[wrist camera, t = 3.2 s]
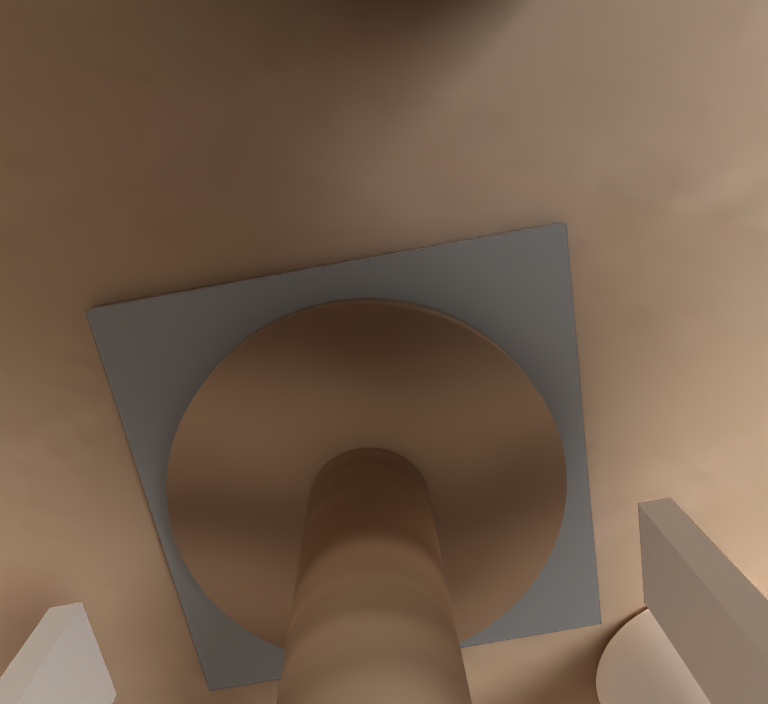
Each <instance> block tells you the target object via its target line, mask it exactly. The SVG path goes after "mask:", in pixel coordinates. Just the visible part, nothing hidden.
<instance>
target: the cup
mask: <svg viewBox="0 0 768 704" xmlns="http://www.w3.org/2000/svg"><path fill="white" fill-rule="evenodd" d="M596 688H597V694H598V698H599V702H600V704H711V703H710V701H709V700H708V698H707V697H706V695H705V694H704V692H703V691H702V689H701V688H700V686H699V685H698V683H697V682H696V680H695V679H694V677H693V676H692V674H691V673H690V671H689V670H688V668H687V666H686V665H685V663H684V662H683V660H682V659H681V657H680V656H679V654H678V653H677V651H676V650H675V648H674V647H673V645H672V644H671V642H670V641H669V639H668V638H667V636H666V635H665V633H664V631H663V630H662V628H661V627H660V625H659V624H658V622H657V621H656V619H655V618H654V616H653V615H652V613H651V612H650V610H649V609H647V610H645V611H643V612H641V613H640V614H638V615H637V616H635V617H634V618H632V619H631V620H630V621H629V622H627V623H626V624H625V625H624V626H623V627H622V628H621V629H620V630H619V631H618V632H617V633H616V634H615V635H614V636H613V638H612V639H611V640H610V642H609V643H608V645H607V646H606V648H605V650H604V652H603V654H602V656H601V659H600V661H599V665H598V669H597V675H596Z"/></svg>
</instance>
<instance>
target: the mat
mask: <svg viewBox="0 0 768 704" xmlns="http://www.w3.org/2000/svg"><path fill="white" fill-rule="evenodd" d="M354 298H385V299H392V300H399V301H406V302H412V303H416V304H419V305H423V306H427V307H430V308H434V309H437V310H440V311H442V312H444V313H447V314H449V315H451V316H454V317H456V318H458V319H461V320H462V321H464V322H466V323H467V324H469V325H471V326H472V327H474V328H476V329H477V330H479V331H481V332H482V333H484V334H485V335H486V336H488V337H489V338H490V339H491V340H493V341H494V342H495V343H496V344H497V345H499V346H500V347H501V348H502V349H503V350H504V351H505V352H506V353H507V354H508V355H509V356H510V357H511V358H512V359H513V360H514V361H515V362H516V363H517V364H518V366H519V367H520V368H521V369H522V370H523V372H524V373H525V374H526V376H527V377H528V378H529V379H530V381H531V382H532V384H533V385H534V387H535V388H536V389H537V391H538V392H539V394H540V395H541V396H542V398H543V399H544V401H545V403H546V405H547V407H548V409H549V411H550V413H551V415H552V417H553V419H554V421H555V424H556V427H557V430H558V433H559V436H560V439H561V442H562V445H563V451H564V457H565V462H566V472H567V495H566V503H565V511H564V516H563V520H562V524H561V528H560V531H559V535H558V538H557V540H556V542H555V545H554V547H553V550H552V552H551V554H550V557H549V558H548V560H547V562H546V564H545V565H544V567H543V569H542V570H541V572H540V574H539V575H538V577H537V578H536V580H535V581H534V582H533V583H532V585H531V586H530V587H529V589H528V590H527V591H526V593H525V594H524V595H523V596H522V597H521V598H520V599H519V600H518V601H517V602H516V603H515V604H514V605H513V606H512V607H511V608H510V609H509V610H508V611H507V612H506V613H505V614H503V615H502V616H501V617H499V618H498V619H497V620H496V621H494V622H493V623H492V624H491V625H489V626H488V627H486V628H485V629H483V630H481V631H480V632H478V633H476V634H475V635H473V636H472V637H470V638H468V639H466V640H464V641H462V642H460V643H459V645H460V648H464V647H469V646H475V645H481V644H487V643H493V642H498V641H504V640H510V639H516V638H522V637H528V636H533V635H539V634H545V633H551V632H557V631H562V630H568V629H574V628H580V627H586V626H592V625H597V624H601V614H600V603H599V591H598V580H597V569H596V557H595V546H594V535H593V523H592V512H591V501H590V489H589V478H588V466H587V455H586V444H585V432H584V421H583V410H582V398H581V387H580V376H579V364H578V353H577V341H576V330H575V319H574V307H573V296H572V285H571V273H570V262H569V250H568V239H567V228H566V223H563V222H560V223H554V224H549V225H543V226H538V227H532V228H527V229H521V230H516V231H510V232H505V233H499V234H494V235H488V236H483V237H477V238H472V239H466V240H461V241H455V242H450V243H444V244H439V245H434V246H428V247H423V248H417V249H412V250H406V251H401V252H395V253H390V254H384V255H379V256H373V257H368V258H362V259H357V260H351V261H346V262H340V263H335V264H329V265H324V266H318V267H313V268H307V269H302V270H296V271H291V272H285V273H280V274H274V275H269V276H263V277H258V278H252V279H247V280H241V281H236V282H230V283H225V284H219V285H214V286H208V287H203V288H197V289H192V290H186V291H181V292H176V293H170V294H165V295H159V296H154V297H148V298H143V299H137V300H132V301H126V302H121V303H115V304H110V305H104V306H99V307H93V308H90V309H88V310H86V311H85V312H86V315H87V318H88V321H89V324H90V327H91V330H92V333H93V337H94V340H95V343H96V346H97V349H98V352H99V355H100V358H101V361H102V364H103V367H104V370H105V373H106V376H107V379H108V382H109V385H110V388H111V392H112V395H113V398H114V401H115V404H116V407H117V410H118V413H119V416H120V419H121V422H122V425H123V428H124V431H125V434H126V437H127V440H128V444H129V447H130V450H131V453H132V456H133V459H134V462H135V465H136V468H137V471H138V474H139V477H140V480H141V483H142V486H143V489H144V492H145V496H146V499H147V502H148V505H149V508H150V511H151V514H152V517H153V520H154V523H155V526H156V529H157V532H158V535H159V538H160V541H161V544H162V547H163V551H164V554H165V557H166V560H167V563H168V566H169V569H170V572H171V575H172V578H173V581H174V584H175V587H176V590H177V593H178V596H179V599H180V603H181V606H182V609H183V612H184V615H185V618H186V621H187V624H188V627H189V630H190V633H191V636H192V639H193V642H194V645H195V648H196V651H197V655H198V658H199V661H200V664H201V667H202V670H203V673H204V676H205V679H206V682H207V685H208V688H209V691H214V690H219V689H225V688H231V687H237V686H243V685H248V684H254V683H260V682H266V681H272V680H277V679H281V674H282V667H283V661H284V654H285V650H284V649H282V648H280V647H278V646H275V645H273V644H271V643H269V642H267V641H264V640H262V639H261V638H259V637H257V636H256V635H254V634H252V633H251V632H249V631H247V630H246V629H244V628H243V627H241V626H240V625H239V624H237V623H236V622H235V621H234V620H232V619H231V618H230V617H228V616H227V615H226V614H225V613H224V612H223V611H222V610H221V609H220V608H219V607H218V606H217V605H216V604H215V603H214V602H213V601H212V600H211V599H210V598H209V597H208V596H207V595H206V594H205V592H204V591H203V590H202V588H201V587H200V586H199V585H198V583H197V582H196V581H195V579H194V578H193V576H192V574H191V573H190V571H189V569H188V567H187V566H186V564H185V562H184V560H183V559H182V556H181V554H180V551H179V549H178V546H177V544H176V541H175V539H174V536H173V532H172V528H171V524H170V520H169V516H168V507H167V496H166V481H167V466H168V461H169V457H170V452H171V447H172V443H173V440H174V437H175V435H176V432H177V429H178V427H179V424H180V421H181V419H182V417H183V415H184V413H185V412H186V410H187V408H188V406H189V404H190V403H191V401H192V399H193V397H194V396H195V394H196V393H197V392H198V390H199V389H200V387H201V386H202V385H203V383H204V382H205V381H206V379H207V378H208V377H209V375H210V374H211V373H212V371H213V370H214V369H215V367H216V366H217V365H218V364H219V362H220V361H221V360H223V359H224V358H225V357H226V356H227V355H228V354H229V353H230V352H231V351H232V350H233V349H234V348H235V347H236V346H237V345H238V344H239V343H241V342H242V341H243V340H245V339H246V338H247V337H249V336H250V335H251V334H253V333H254V332H255V331H257V330H258V329H260V328H262V327H264V326H266V325H267V324H269V323H271V322H273V321H275V320H276V319H278V318H280V317H283V316H285V315H288V314H290V313H293V312H295V311H298V310H300V309H303V308H306V307H310V306H314V305H318V304H322V303H326V302H330V301H337V300H346V299H354Z"/></svg>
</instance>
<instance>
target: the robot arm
mask: <svg viewBox="0 0 768 704" xmlns="http://www.w3.org/2000/svg"><path fill="white" fill-rule="evenodd" d="M638 512H639V527H640V543H641V559H642V575H643V590H644V603H645V604H646V606H647V607H648V609H649V610H650V612H651V613H652V615H653V616H654V618H655V619H656V621H657V622H658V624H659V625H660V627H661V628H662V630H663V631H664V633H665V635H666V636H667V638H668V639H669V641H670V642H671V644H672V645H673V647H674V648H675V650H676V651H677V653H678V654H679V656H680V657H681V659H682V660H683V662H684V663H685V665H686V666H687V668H688V670H689V671H690V673H691V674H692V676H693V677H694V679H695V680H696V682H697V683H698V685H699V686H700V688H701V689H702V691H703V692H704V694H705V695H706V697H707V698H708V700H709V701H710V703H711V704H768V600H767V599H766V598H765V597H764V596H763V595H762V594H761V593H760V592H759V591H758V590H757V588H756V587H755V586H754V585H753V584H752V583H751V582H750V581H749V580H748V579H747V578H746V577H745V576H744V575H743V574H742V573H741V572H740V570H739V569H738V568H737V567H736V566H735V565H734V564H733V563H732V562H731V561H730V560H729V559H728V558H727V557H726V556H725V555H724V554H723V552H722V551H721V550H720V549H719V548H718V547H717V546H716V545H715V544H714V543H713V542H712V541H711V540H710V539H709V538H708V537H707V536H706V534H705V533H704V532H703V531H702V530H701V529H700V528H699V527H698V526H697V525H696V524H695V523H694V522H693V521H692V520H691V519H690V518H689V516H688V515H687V514H686V513H685V512H684V511H683V510H682V509H681V508H680V507H679V506H678V505H677V504H676V503H675V502H674V501H673V500H672V498H667V499H661V500H655V501H650V502H644V503H638ZM116 695H117V693H116V691H115V688H114V685H113V683H112V680H111V677H110V675H109V672H108V670H107V667H106V664H105V662H104V659H103V656H102V654H101V651H100V649H99V646H98V643H97V641H96V638H95V635H94V633H93V630H92V628H91V625H90V622H89V620H88V617H87V614H86V612H85V609H84V607H83V604H82V602H78V603H72V604H67V605H61V606H55V607H50V608H49V609H48V611H47V612H46V613H45V615H44V616H43V618H42V619H41V621H40V622H39V623H38V625H37V626H36V628H35V629H34V631H33V632H32V633H31V635H30V636H29V638H28V639H27V641H26V642H25V643H24V645H23V646H22V648H21V649H20V651H19V652H18V653H17V655H16V656H15V658H14V659H13V661H12V662H11V663H10V665H9V666H8V668H7V669H6V670H5V672H4V673H3V675H2V676H1V678H0V704H113V702H114V700H115V697H116Z"/></svg>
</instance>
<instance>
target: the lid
mask: <svg viewBox="0 0 768 704" xmlns="http://www.w3.org/2000/svg"><path fill="white" fill-rule="evenodd" d="M566 495H567V472H566V462H565V457H564V451H563V445H562V442H561V439H560V436H559V433H558V430H557V427H556V424H555V421H554V419H553V417H552V415H551V413H550V411H549V409H548V407H547V405H546V403H545V401H544V399H543V398H542V396H541V395H540V394H539V392H538V391H537V389H536V388H535V387H534V385H533V384H532V382H531V381H530V379H529V378H528V377H527V376H526V374H525V373H524V372H523V370H522V369H521V368H520V367H519V366H518V364H517V363H516V362H515V361H514V360H513V359H512V358H511V357H510V356H509V355H508V354H507V353H506V352H505V351H504V350H503V349H502V348H501V347H500V346H499V345H497V344H496V343H495V342H494V341H493V340H491V339H490V338H489V337H488V336H486V335H485V334H484V333H482V332H481V331H479V330H477V329H476V328H474V327H472V326H471V325H469V324H467V323H466V322H464V321H462V320H461V319H458V318H456V317H454V316H451V315H449V314H447V313H444V312H442V311H440V310H437V309H434V308H430V307H427V306H423V305H419V304H416V303H412V302H406V301H399V300H392V299H385V298H354V299H346V300H337V301H330V302H326V303H322V304H318V305H314V306H310V307H306V308H303V309H300V310H298V311H295V312H293V313H290V314H288V315H285V316H283V317H280V318H278V319H276V320H275V321H273V322H271V323H269V324H267V325H266V326H264V327H262V328H260V329H258V330H257V331H255V332H254V333H253V334H251V335H250V336H249V337H247V338H246V339H245V340H243V341H242V342H241V343H239V344H238V345H237V346H236V347H235V348H234V349H233V350H232V351H231V352H230V353H229V354H228V355H227V356H226V357H225V358H224V359H223V360H221V361H220V362H219V364H218V365H217V366H216V367H215V369H214V370H213V371H212V373H211V374H210V375H209V377H208V378H207V379H206V381H205V382H204V383H203V385H202V386H201V387H200V389H199V390H198V392H197V393H196V394H195V396H194V397H193V399H192V401H191V403H190V404H189V406H188V408H187V410H186V412H185V413H184V415H183V417H182V419H181V421H180V424H179V427H178V429H177V432H176V435H175V437H174V440H173V443H172V447H171V452H170V457H169V461H168V466H167V481H166V496H167V507H168V516H169V520H170V524H171V528H172V532H173V536H174V539H175V541H176V544H177V546H178V549H179V551H180V554H181V556H182V559H183V560H184V562H185V564H186V566H187V567H188V569H189V571H190V573H191V574H192V576H193V578H194V579H195V581H196V582H197V583H198V585H199V586H200V587H201V588H202V590H203V591H204V592H205V594H206V595H207V596H208V597H209V598H210V599H211V600H212V601H213V602H214V603H215V604H216V605H217V606H218V607H219V608H220V609H221V610H222V611H223V612H224V613H225V614H226V615H227V616H228V617H230V618H231V619H232V620H234V621H235V622H236V623H237V624H239V625H240V626H241V627H243V628H244V629H246V630H247V631H249V632H251V633H252V634H254V635H256V636H257V637H259V638H261V639H262V640H264V641H267V642H269V643H271V644H273V645H275V646H278V647H280V648H282V649H284V650H285V654H284V661H283V667H282V674H281V680H280V687H279V693H278V700H277V704H472V703H471V698H470V693H469V688H468V683H467V678H466V674H465V669H464V664H463V659H462V654H461V649H460V645H459V643H460V642H462V641H464V640H466V639H468V638H470V637H472V636H473V635H475V634H476V633H478V632H480V631H481V630H483V629H485V628H486V627H488V626H489V625H491V624H492V623H493V622H494V621H496V620H497V619H498V618H499V617H501V616H502V615H503V614H505V613H506V612H507V611H508V610H509V609H510V608H511V607H512V606H513V605H514V604H515V603H516V602H517V601H518V600H519V599H520V598H521V597H522V596H523V595H524V594H525V593H526V591H527V590H528V589H529V587H530V586H531V585H532V583H533V582H534V581H535V580H536V578H537V577H538V575H539V574H540V572H541V570H542V569H543V567H544V565H545V564H546V562H547V560H548V558H549V557H550V554H551V552H552V550H553V547H554V545H555V542H556V540H557V538H558V535H559V531H560V528H561V524H562V520H563V516H564V511H565V503H566Z"/></svg>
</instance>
